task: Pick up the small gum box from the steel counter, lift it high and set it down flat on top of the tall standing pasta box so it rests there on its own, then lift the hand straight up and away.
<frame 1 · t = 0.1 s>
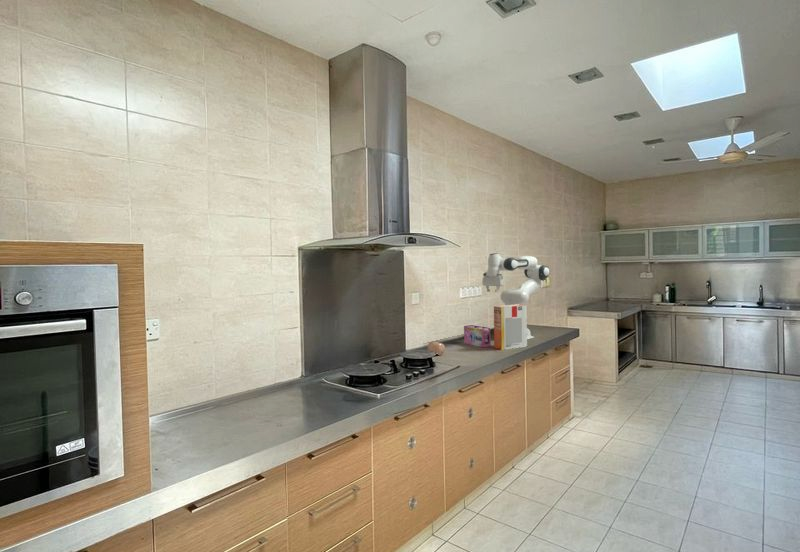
hand: (492, 291, 330), 39 cm above the countertop, tool pointing down, fingers open, 8 cm apart
gum box: (477, 345, 322), on the countertop
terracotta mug: (432, 347, 294), point 5 cm above the countertop, tilted 92°
pasta box: (510, 347, 307), on the countertop
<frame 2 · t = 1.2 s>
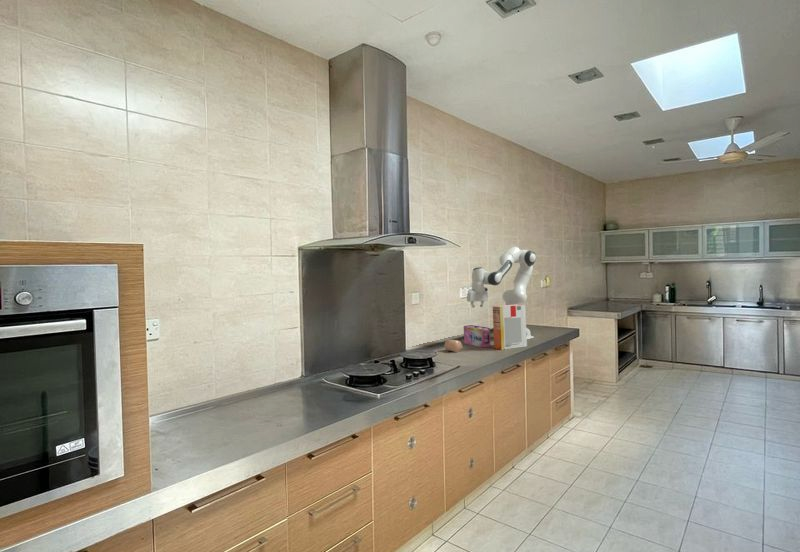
hand: (477, 307, 322), 28 cm above the countertop, tool pointing down, fingers open, 8 cm apart
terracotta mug: (448, 344, 304), point 4 cm above the countertop, tilted 90°
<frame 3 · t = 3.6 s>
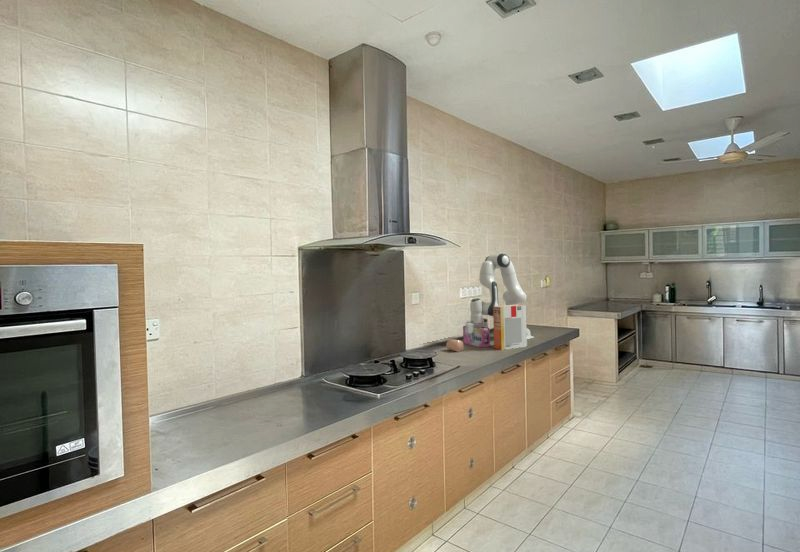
hand: (477, 338, 322), 5 cm above the countertop, tool pointing down, fingers open, 8 cm apart
gum box: (476, 345, 323), on the countertop, touching gripper
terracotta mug: (450, 344, 305), point 4 cm above the countertop, tilted 90°
everything else where it was.
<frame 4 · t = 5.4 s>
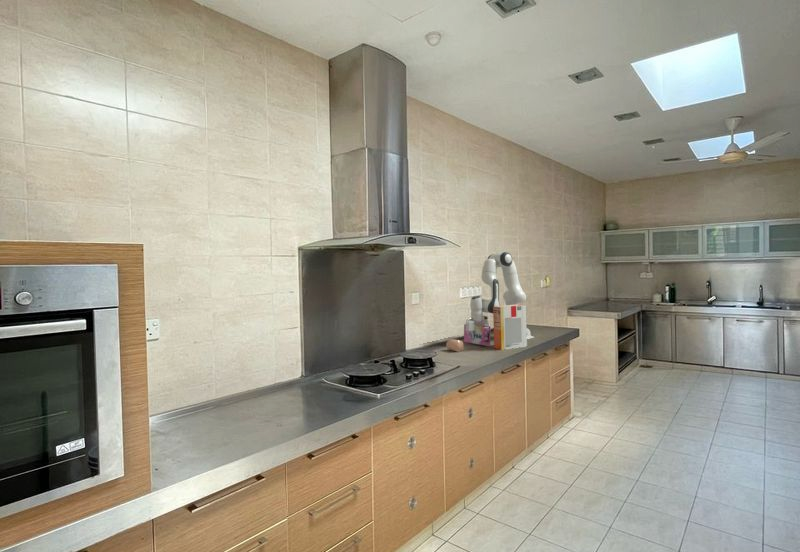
hand: (477, 336, 322), 6 cm above the countertop, tool pointing down, fingers closed on gum box, 7 cm apart
gum box: (476, 343, 322), point 1 cm above the countertop, touching gripper
everything else where it was.
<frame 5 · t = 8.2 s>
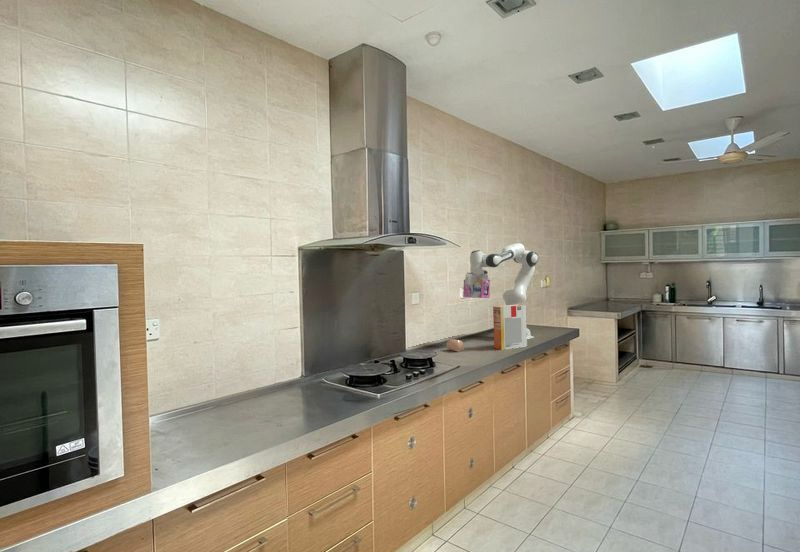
hand: (477, 290, 321), 41 cm above the countertop, tool pointing down, fingers closed on gum box, 7 cm apart
gum box: (475, 297, 321), point 35 cm above the countertop, touching gripper
everything else where it was.
when the fingers open (36 cm above the countertop, at t = 12.0 s): gum box stays where it is, resting on pasta box.
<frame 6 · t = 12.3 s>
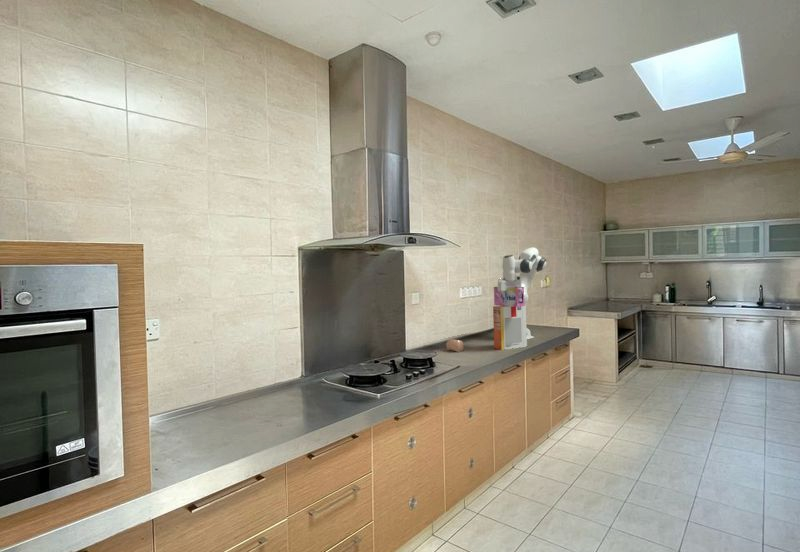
hand: (509, 297, 306), 36 cm above the countertop, tool pointing down, fingers open, 8 cm apart
gum box: (509, 306, 307), point 30 cm above the countertop, touching gripper, pasta box
pasta box: (510, 347, 307), on the countertop, touching gum box
everything else where it was.
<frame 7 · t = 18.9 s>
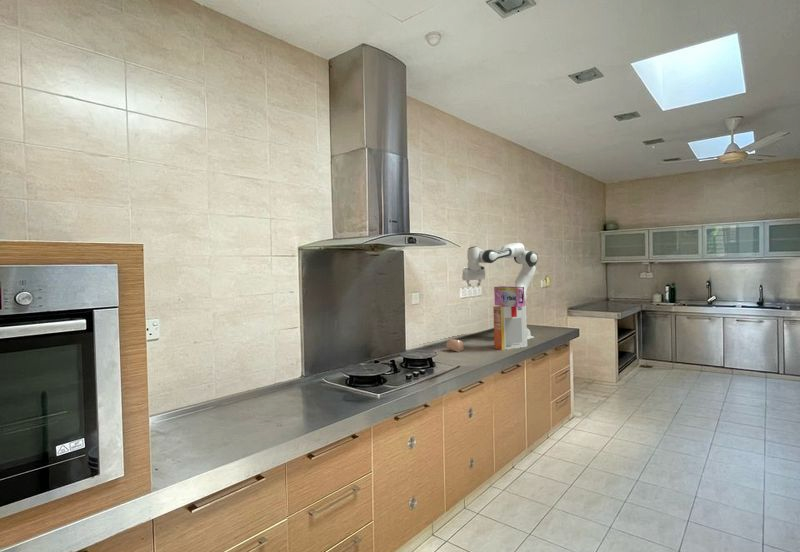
hand: (474, 285, 326), 44 cm above the countertop, tool pointing down, fingers open, 8 cm apart
gum box: (509, 306, 307), point 30 cm above the countertop, touching pasta box
everything else where it was.
at the end: gum box inside the target area on the pasta box (0.4 cm from its centre), point 30.0 cm above the pasta box's base; gum box touching pasta box; pasta box tilted 0° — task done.
